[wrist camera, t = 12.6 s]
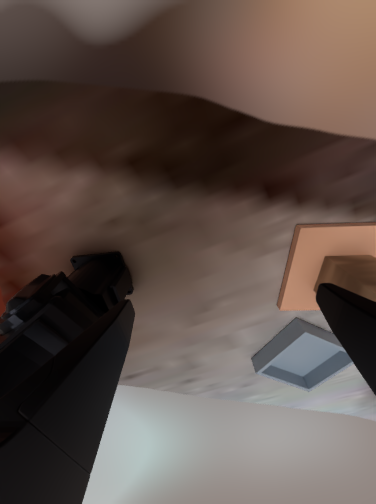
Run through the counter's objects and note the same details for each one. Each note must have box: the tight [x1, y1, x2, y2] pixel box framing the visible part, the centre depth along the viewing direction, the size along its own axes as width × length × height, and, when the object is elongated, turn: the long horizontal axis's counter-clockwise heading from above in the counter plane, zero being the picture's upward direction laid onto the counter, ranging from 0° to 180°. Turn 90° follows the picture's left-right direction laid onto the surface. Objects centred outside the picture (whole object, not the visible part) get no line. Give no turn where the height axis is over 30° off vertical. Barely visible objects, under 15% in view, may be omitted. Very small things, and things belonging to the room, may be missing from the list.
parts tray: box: [251, 318, 354, 392], centre depth 29 cm, size 11×11×2 cm
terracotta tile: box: [277, 222, 376, 311], centre depth 22 cm, size 12×12×1 cm
